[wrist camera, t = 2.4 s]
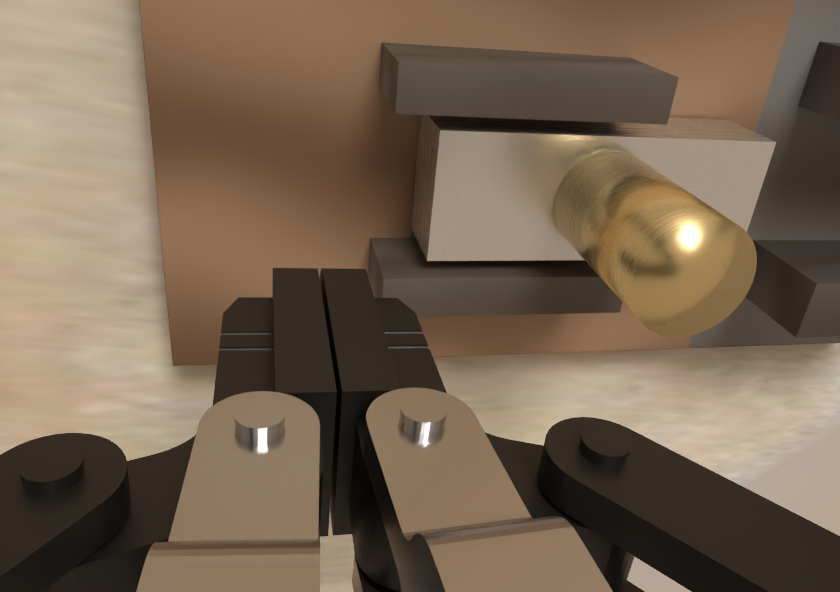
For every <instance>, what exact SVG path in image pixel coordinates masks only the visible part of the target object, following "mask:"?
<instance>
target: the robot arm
mask: <svg viewBox="0 0 840 592" xmlns="http://www.w3.org/2000/svg"><path fill="white" fill-rule="evenodd" d="M329 511H330V513H331V522H332V531H333V535H344V534H352V535H353V543H354V550H355V554H354V565H353V577H352V583H353V589H354V592H644V591H643V590H641V589H640V588H638V587H636V586H635V585H633V584H632V583H630V582H629V581H627V577H628V574H629V571H630V568H631V565H632V562H633V559H634V556H635V557H637V558H638V559H640V560H641V561H643V562H645V563H646V564H648V565H650V566H651V567H653V568H655V569H656V570H658V571H659V572H661V573H663V574H664V575H666V576H668V577H669V578H671V579H673V580H674V581H676V582H677V583H679V584H680V585H682V586H684V587H685V588H687V589H689V590H690V591H692V592H840V536H838V535H836V534H834V533H832V532H830V531H828V530H826V529H825V528H822V527H821V526H819V525H817V524H814V523H813V522H811V521H809V520H807V519H805V518H803V517H801V516H799V515H797V514H795V513H793V512H791V511H789V510H787V509H785V508H783V507H781V506H779V505H777V504H775V503H774V502H772V501H769V500H767V499H766V498H764V497H762V496H760V495H758V494H756V493H753V492H752V491H750V490H748V489H746V488H744V487H742V486H740V485H738V484H736V483H734V482H732V481H730V480H728V479H726V478H724V477H723V476H721V475H719V474H717V473H715V472H713V471H711V470H709V469H707V468H705V467H703V466H701V465H699V464H697V463H695V462H693V461H691V460H689V459H687V458H685V457H683V456H681V455H679V454H677V453H675V452H673V451H671V450H670V449H668V448H666V447H664V446H662V445H660V444H658V443H656V442H654V441H652V440H650V439H648V438H646V437H644V436H642V435H640V434H638V433H636V432H634V431H632V430H630V429H628V428H626V427H624V426H622V425H619V424H617V423H614V422H611V421H607V420H603V419H597V418H589V417H578V418H570V419H566V420H563V421H560V422H558V423H557V424H555V425H553V426H552V427H551V428H550V429H549V431H548V433H547V435H546V438H545V443H544V446H542V445H536V444H531V443H525V442H520V441H514V440H509V439H504V438H500V437H496V436H493V435H490V434H488V433H485V432H484V430H483V428H482V427H481V425H480V423H479V421H478V419H477V417H476V416H475V414H474V413H473V411H472V410H471V409H470V408H469V407H468V406H467V405H466V404H465V403H463V402H462V401H461V400H459V399H457V398H455V397H454V396H452V395H449V394H447V393H446V390H445V388H444V385H443V382H442V380H441V377H440V375H439V372H438V370H437V367H436V364H435V362H434V359H433V357H432V354H431V351H430V349H428V344H427V341H426V338H425V336H424V334H422V328H421V326H420V323H419V320H418V318H417V315H416V313H415V312H414V311H413V310H411V309H410V308H409V307H408V306H407V305H405V304H404V303H403V302H402V301H401V300H399V299H398V298H374V295H373V291H372V288H371V284H370V281H369V277H368V274H367V271H366V269H336V268H321V271H320V278H319V271H318V268H273V273H272V297H238V298H237V299H236V300H235V301H234V303H233V304H232V305H231V306H230V307H229V308H228V309H227V310H226V311H225V312H224V313H223V318H222V327H221V336H220V345H219V354H218V363H217V372H216V381H215V390H214V399H213V406H212V407H211V408H209V409H208V410H207V411H206V412H205V414H204V415H203V416H202V418H201V420H200V423H199V425H198V429H197V433H196V435H195V436H194V437H192V438H191V439H190V440H188V441H187V442H185V443H183V444H181V445H179V446H177V447H175V448H172V449H170V450H167V451H164V452H161V453H158V454H154V455H150V456H146V457H142V458H138V459H134V460H130V461H126V457H125V455H124V453H123V451H122V450H121V449H120V448H119V447H118V446H117V445H116V444H115V443H113V442H111V441H110V440H108V439H105V438H102V437H100V436H95V435H91V434H83V433H65V434H55V435H50V436H45V437H41V438H37V439H34V440H31V441H28V442H26V443H23V444H20V445H18V446H16V447H14V448H12V449H10V450H8V451H6V452H5V453H3V454H1V455H0V592H320V536H328V528H329Z"/></svg>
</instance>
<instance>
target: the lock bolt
mask: <svg viewBox="0 0 840 592" xmlns="http://www.w3.org/2000/svg"><path fill="white" fill-rule="evenodd" d="M775 145H776V142H775V141H773V140H771V139H769V138H766V137H764V136H762V135H760V134H758V133H756V132H753V131H751V130H749V129H747V128H745V127H742V126H740V125H738V124H736V123H734V122H732V121H729V120H725V119H701V118H677V117H669V119H668V123H667V125H662V124H636V123H611V122H586V121H560V120H535V119H509V118H484V117H458V116H433V115H421V118H420V129H419V141H418V152H417V164H416V175H415V187H414V198H413V210H412V221H411V228H412V230H413V232H414V234H415V236H416V238H417V241H418V243H419V245H420V247H421V249H422V251H423V254H424V256H425V258H426V260H427V261H529V260H585V261H586V262H587V263H588V264H589V265H590V266H591V268H592V269H593V270H594V271H595V272H596V273H597V274H598V275H599V276H600V277H601V278H602V280H603V281H604V282H605V283H606V284H607V285H608V286H609V287H610V288H611V289H612V291H613V292H614V293H615V294H616V295H617V296H618V297H619V298H620V299H621V300H622V302H623V303H624V304H625V305H626V306H627V307H628V308H629V309H630V310H631V311H632V312H633V314H634V315H635V316H636V317H637V318H638V319H639V320H640V321H641V322H642V323H643V324H644V325H645V326H646V327H647V328H648V329H649V330H651V331H653V332H655V333H657V334H659V335H663V336H668V337H686V336H691V335H695V334H698V333H701V332H703V331H706V330H708V329H710V328H712V327H714V326H715V325H717V324H718V323H720V322H721V321H723V320H724V319H725V318H727V317H728V316H729V315H730V314H731V313H732V312H733V311H734V310H735V309H736V308H737V307H738V306H739V304H740V303H741V302H742V301H743V299H744V298H745V296H746V295H747V293H748V291H749V289H750V287H751V285H752V282H753V280H754V276H755V273H756V267H757V254H756V249H755V245H754V243H753V241H752V239H751V237H750V236H749V234H748V233H747V230H748V227H749V224H750V221H751V218H752V215H753V212H754V209H755V206H756V203H757V200H758V197H759V194H760V190H761V187H762V184H763V181H764V178H765V175H766V172H767V169H768V166H769V163H770V160H771V157H772V154H773V151H774V148H775Z"/></svg>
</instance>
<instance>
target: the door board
mask: <svg viewBox="0 0 840 592" xmlns="http://www.w3.org/2000/svg"><path fill="white" fill-rule="evenodd" d="M139 3H140V14H141V25H142V35H143V46H144V57H145V68H146V79H147V90H148V100H149V111H150V122H151V133H152V144H153V155H154V165H155V176H156V187H157V198H158V209H159V219H160V230H161V241H162V252H163V263H164V274H165V284H166V295H167V306H168V317H169V328H170V339H171V349H172V360H173V366H180V365H209V364H217V363H218V354H219V345H220V336H221V327H222V318H223V313H224V312H225V311H226V310H227V309H228V308H229V307H230V306H231V305H232V304H233V303H234V301H235V300H236V299H237V298H238V297H272V273H273V268H318V271H319V278H320V271H321V268H336V269H366V271H367V274H368V277H369V281H370V284H371V288H372V291H373V295H374V298H398V299H399V300H401V301H402V302H403V303H404V304H405V305H407V306H408V307H409V308H410V309H411V310H413V311H414V312H415V313H416V315H417V318H418V320H419V323H420V326H421V328H422V334H424V336H425V338H426V341H427V344H428V349H430V351H431V354H432V357H441V356H470V355H499V354H528V353H557V352H586V351H616V350H645V349H674V348H703V347H732V346H761V345H790V344H819V343H840V0H139ZM421 115H433V116H458V117H484V118H509V119H535V120H560V121H586V122H611V123H636V124H662V125H667V123H668V119H669V117H677V118H701V119H725V120H729V121H732V122H734V123H736V124H738V125H740V126H742V127H745V128H747V129H749V130H751V131H753V132H756V133H758V134H760V135H762V136H764V137H766V138H769V139H771V140H773V141H775V142H776V145H775V148H774V151H773V154H772V157H771V160H770V163H769V166H768V169H767V172H766V175H765V178H764V181H763V184H762V187H761V190H760V194H759V197H758V200H757V203H756V206H755V209H754V212H753V215H752V218H751V221H750V224H749V227H748V230H747V233H748V234H749V236H750V237H751V239H752V241H753V243H754V245H755V249H756V254H757V267H756V273H755V276H754V280H753V282H752V285H751V287H750V289H749V291H748V293H747V295H746V296H745V298H744V299H743V301H742V302H741V303H740V304H739V306H738V307H737V308H736V309H735V310H734V311H733V312H732V313H731V314H730V315H729V316H728V317H727V318H725V319H724V320H723V321H721V322H720V323H718V324H717V325H715V326H714V327H712V328H710V329H708V330H706V331H703V332H701V333H698V334H695V335H691V336H686V337H668V336H663V335H659V334H657V333H655V332H653V331H651V330H649V329H648V328H647V327H646V326H645V325H644V324H643V323H642V322H641V321H640V320H639V319H638V318H637V317H636V316H635V315H634V314H633V312H632V311H631V310H630V309H629V308H628V307H627V306H626V305H625V304H624V303H623V302H622V300H621V299H620V298H619V297H618V296H617V295H616V294H615V293H614V292H613V291H612V289H611V288H610V287H609V286H608V285H607V284H606V283H605V282H604V281H603V280H602V278H601V277H600V276H599V275H598V274H597V273H596V272H595V271H594V270H593V269H592V268H591V266H590V265H589V264H588V263H587V262H586V261H585V260H529V261H427V260H426V258H425V256H424V254H423V251H422V249H421V247H420V245H419V243H418V241H417V238H416V236H415V234H414V232H413V230H412V228H411V221H412V210H413V198H414V187H415V175H416V164H417V152H418V141H419V129H420V118H421Z"/></svg>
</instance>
